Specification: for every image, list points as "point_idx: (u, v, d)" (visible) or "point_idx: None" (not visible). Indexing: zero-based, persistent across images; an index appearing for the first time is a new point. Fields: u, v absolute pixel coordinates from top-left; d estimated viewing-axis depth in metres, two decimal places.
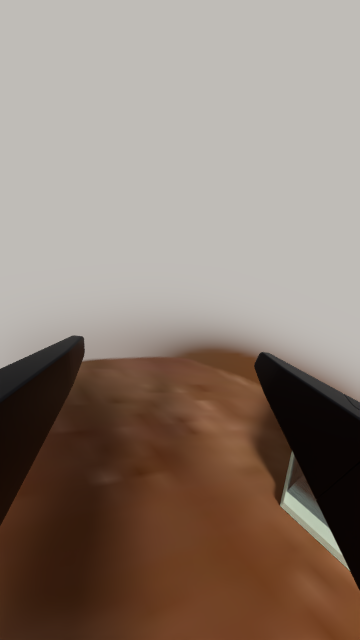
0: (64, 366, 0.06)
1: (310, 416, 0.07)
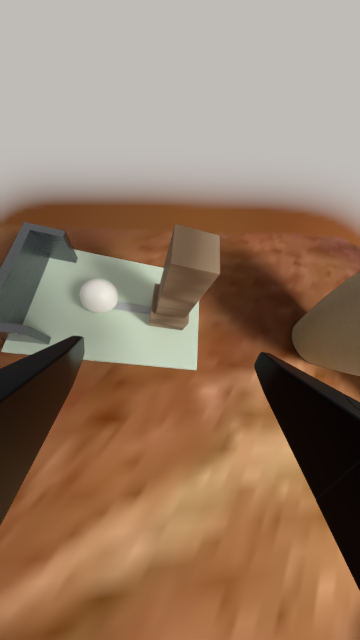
0: (64, 366, 0.06)
1: (310, 416, 0.07)
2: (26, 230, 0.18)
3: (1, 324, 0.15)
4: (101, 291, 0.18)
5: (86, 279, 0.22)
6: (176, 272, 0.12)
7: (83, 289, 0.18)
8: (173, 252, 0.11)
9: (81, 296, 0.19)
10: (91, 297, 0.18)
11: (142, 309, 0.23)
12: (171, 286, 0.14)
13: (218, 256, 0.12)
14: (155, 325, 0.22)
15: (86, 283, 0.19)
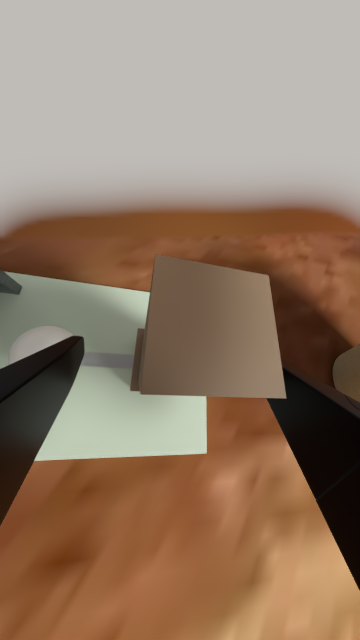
0: (64, 366, 0.06)
1: (310, 416, 0.07)
2: None
3: None
4: None
5: (34, 320, 0.15)
6: None
7: (11, 353, 0.11)
8: (149, 349, 0.04)
9: (9, 364, 0.11)
10: None
11: (121, 360, 0.15)
12: None
13: (274, 338, 0.05)
14: None
15: (17, 341, 0.11)
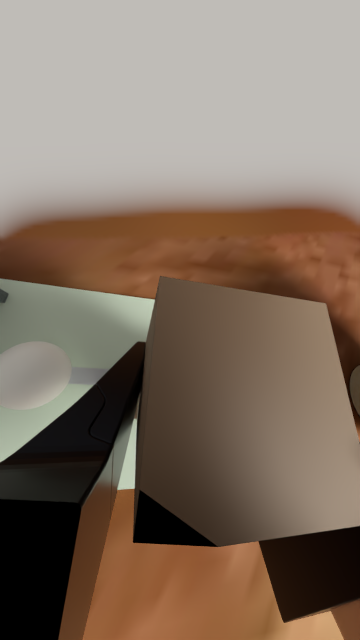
0: (142, 370, 0.07)
1: None
2: None
3: None
4: (25, 379, 0.09)
5: (21, 332, 0.13)
6: None
7: None
8: (151, 454, 0.02)
9: None
10: (3, 394, 0.09)
11: None
12: None
13: (346, 409, 0.03)
14: None
15: None
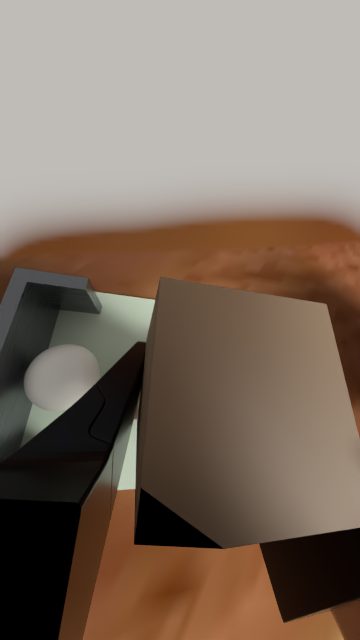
0: (142, 370, 0.07)
1: None
2: (20, 284, 0.10)
3: None
4: None
5: (118, 340, 0.14)
6: None
7: None
8: (151, 456, 0.02)
9: None
10: None
11: None
12: None
13: (347, 410, 0.03)
14: None
15: None
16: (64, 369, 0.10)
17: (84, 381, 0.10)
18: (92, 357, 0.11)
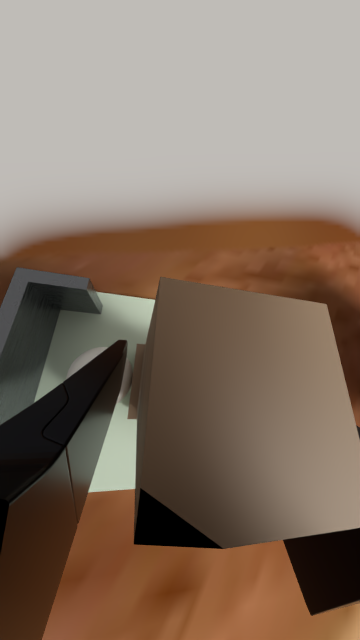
0: (119, 369, 0.07)
1: None
2: (22, 284, 0.10)
3: None
4: None
5: None
6: None
7: None
8: (151, 456, 0.02)
9: None
10: None
11: None
12: None
13: (347, 410, 0.03)
14: None
15: None
16: (131, 373, 0.12)
17: None
18: None
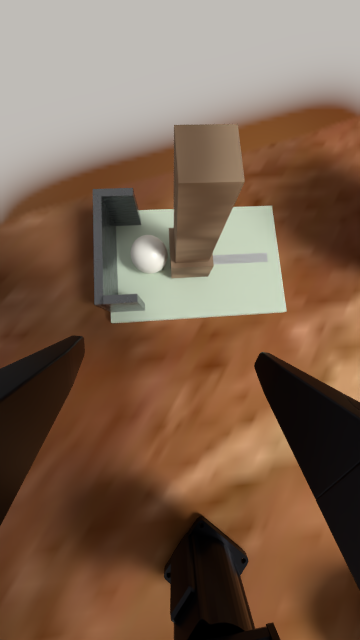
0: (64, 366, 0.06)
1: (310, 416, 0.07)
2: (98, 198, 0.17)
3: (116, 296, 0.16)
4: (131, 255, 0.19)
5: None
6: (188, 196, 0.10)
7: None
8: (179, 167, 0.09)
9: None
10: (135, 265, 0.19)
11: (217, 259, 0.22)
12: (186, 219, 0.12)
13: (239, 156, 0.09)
14: (178, 276, 0.20)
15: None
16: (165, 247, 0.19)
17: None
18: None
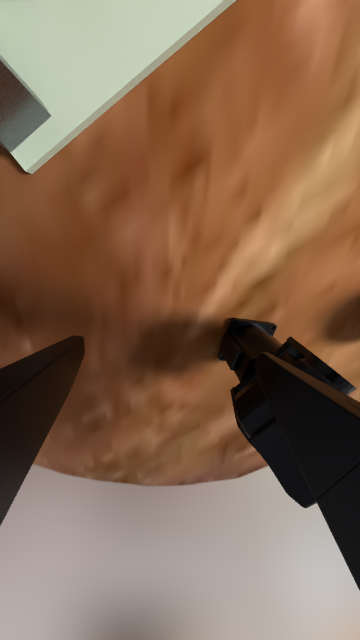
0: (64, 366, 0.06)
1: (310, 416, 0.07)
2: None
3: None
4: None
5: None
6: None
7: None
8: None
9: None
10: None
11: None
12: None
13: None
14: None
15: None
16: None
17: None
18: None
